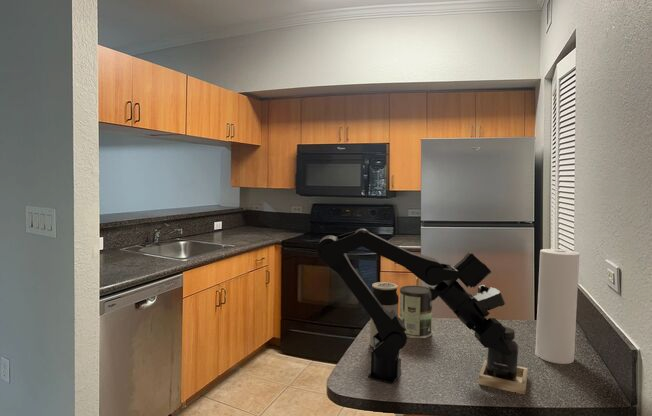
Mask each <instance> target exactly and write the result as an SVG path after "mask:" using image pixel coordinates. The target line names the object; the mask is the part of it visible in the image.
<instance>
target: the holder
mask: <svg viewBox="0 0 652 416" xmlns="http://www.w3.org/2000/svg"><path fill="white" fill-rule="evenodd" d="M527 381H528V367H523V366H518V365H517V378H516V380H515V381H510V380H506V379H501V378H497V377H492V376H488V375H487V359H484V360H483V364H482V367H481V368H480V372H479V375H478V385H481V386H486V387H490V388H495V389H498V390H503V391H506V392H512V393H515V392H516V393H515V394H520V395H525V396H526V391H527Z"/></svg>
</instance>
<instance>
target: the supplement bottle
mask: <svg viewBox="0 0 652 416" xmlns="http://www.w3.org/2000/svg"><path fill="white" fill-rule="evenodd" d="M504 327H505V329H506V331H505V333H504V334H503V338H504V340H505V341H506V343H507V345H508V347H509V348H510V350H511V352H512V354H511V355H510V356H507V355H505V354H502V353H500V352H498V351H495V350H493V349H490V348H487V355H486V356H487V359H486V360H487V375H488V376H492V377H497V378H501V379H506V380H510V381H515V380H516V378H517V366H518V364H519V363H518V362H519V361H518V360H519V345H518V343H517V341H515V340H516V337H515V336H516V335H515V333H516V332H515V330H514V329H513V328H510V327H507V326H504Z"/></svg>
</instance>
